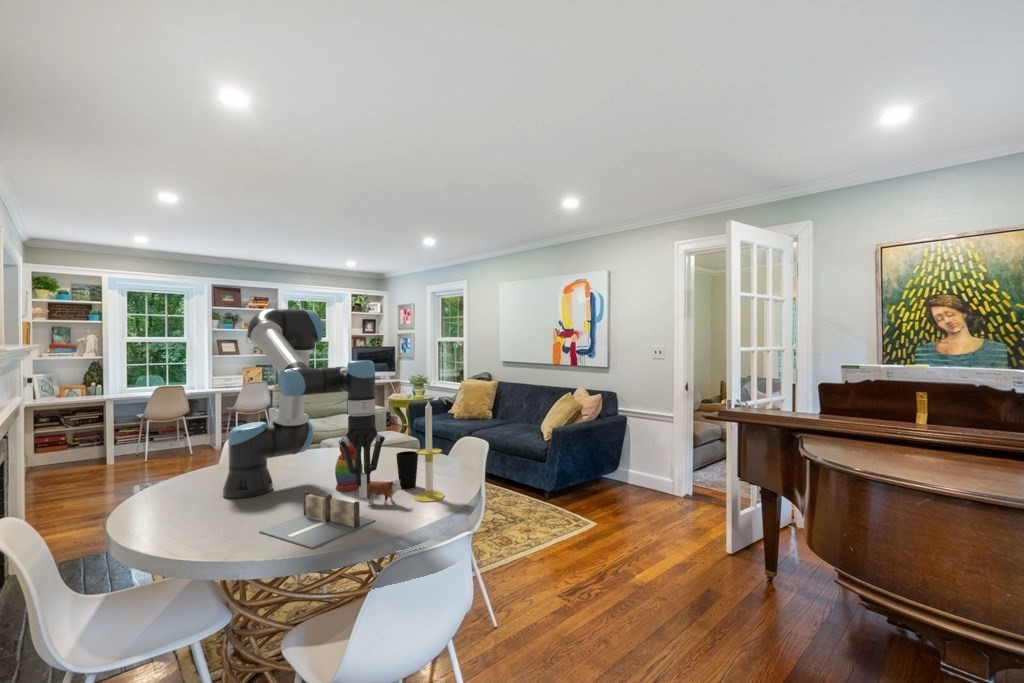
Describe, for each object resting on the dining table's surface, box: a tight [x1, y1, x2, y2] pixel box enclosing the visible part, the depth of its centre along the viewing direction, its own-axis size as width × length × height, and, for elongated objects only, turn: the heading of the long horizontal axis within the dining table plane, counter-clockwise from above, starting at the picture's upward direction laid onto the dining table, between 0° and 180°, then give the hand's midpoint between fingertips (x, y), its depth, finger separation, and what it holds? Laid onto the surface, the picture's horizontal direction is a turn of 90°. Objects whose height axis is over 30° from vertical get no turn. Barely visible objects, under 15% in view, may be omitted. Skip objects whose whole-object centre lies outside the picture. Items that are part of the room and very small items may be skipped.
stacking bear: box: [334, 437, 364, 493], centre depth 168 cm, size 11×10×18 cm
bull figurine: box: [364, 478, 402, 506], centre depth 151 cm, size 4×13×8 cm, turn 78°
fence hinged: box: [330, 498, 361, 527], centre depth 132 cm, size 11×1×7 cm, turn 60°
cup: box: [395, 450, 419, 490], centre depth 168 cm, size 8×8×12 cm
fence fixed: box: [303, 490, 333, 522], centre depth 138 cm, size 11×2×7 cm, turn 60°
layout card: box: [258, 514, 376, 550], centre depth 132 cm, size 22×21×1 cm
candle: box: [413, 399, 445, 503], centre depth 157 cm, size 10×10×32 cm
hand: (362, 496), depth 135 cm, fingers closed
